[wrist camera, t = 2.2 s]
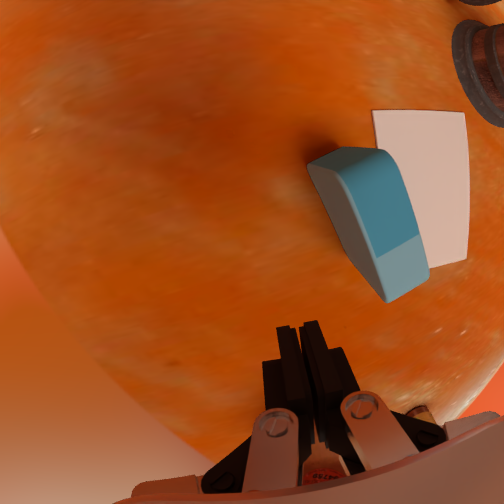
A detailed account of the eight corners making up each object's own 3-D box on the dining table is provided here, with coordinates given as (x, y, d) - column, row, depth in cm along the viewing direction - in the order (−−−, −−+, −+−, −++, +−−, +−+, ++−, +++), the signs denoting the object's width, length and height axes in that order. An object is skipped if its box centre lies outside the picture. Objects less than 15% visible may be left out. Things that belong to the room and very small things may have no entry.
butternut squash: (349, 378, 40) (401, 522, 17) (354, 423, 45) (390, 538, 21) (262, 402, 41) (272, 553, 18) (281, 443, 46) (294, 561, 22)
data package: (379, 240, 33) (433, 285, 21) (347, 257, 33) (390, 311, 22) (339, 145, 29) (392, 148, 18) (303, 163, 30) (337, 175, 18)
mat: (371, 110, 27) (372, 110, 27) (462, 112, 27) (464, 112, 26) (383, 277, 34) (384, 279, 34) (464, 257, 34) (466, 258, 33)
